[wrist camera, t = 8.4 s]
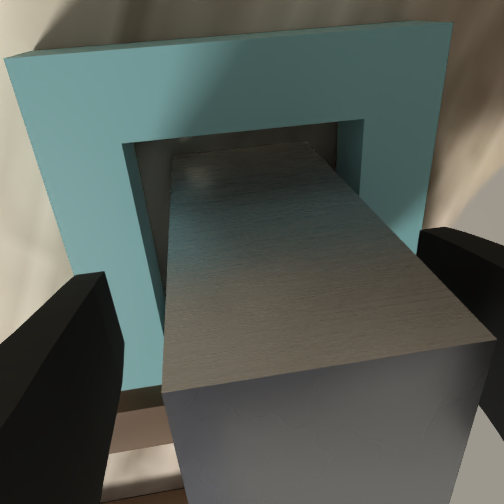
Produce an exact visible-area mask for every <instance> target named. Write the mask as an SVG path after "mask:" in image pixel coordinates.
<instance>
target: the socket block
mask: <svg viewBox="0 0 504 504" xmlns="http://www.w3.org/2000/svg"><path fill="white" fill-rule="evenodd" d="M161 391H162V385H156V386H150V387H143V388H137V389H130V390H124V391H121V394H120V399H119V404H118V410H117V415H116V420H115V425H114V430H113V435H112V440H111V445H110V450H109V454H112V453H118V452H123V451H129V450H135V449H141V448H147V447H153V446H158V445H164V444H170V443H173V439H172V434H171V430H170V426H169V422H168V418H167V414H166V410H165V406H164V402H163V398H162V394H161ZM101 504H188V500H187V496H186V491H185V488H183V489H177V490H172V491H167V492H161V493H156V494H150V495H145V496H139V497H134V498H128V499H123V500H117V501H112V502H106V503H101Z"/></svg>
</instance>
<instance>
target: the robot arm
mask: <svg viewBox="0 0 504 504" xmlns="http://www.w3.org/2000/svg"><path fill="white" fill-rule="evenodd" d="M416 256H417V257H418V258H419V259H420V260H421V261H422V262H423V263H424V264H425V265H426V266H427V267H428V268H429V269H430V270H431V271H432V272H433V273H434V274H435V275H436V276H437V278H438V279H439V280H440V281H441V282H442V283H443V284H444V285H445V286H446V287H447V288H448V289H449V290H450V291H451V292H452V293H453V294H454V295H455V296H456V297H457V298H458V299H459V300H460V301H461V302H462V303H463V304H464V305H465V307H466V308H467V309H468V310H469V311H470V312H471V313H472V314H473V315H474V316H475V317H476V318H477V319H478V320H479V321H480V322H481V323H482V324H483V325H484V326H485V327H486V328H487V329H488V330H489V331H490V332H491V333H492V334H493V336H494V337H495V338H496V339H497V343H496V346H495V350H494V353H493V357H492V360H491V363H490V367H489V370H488V373H487V377H486V380H485V384H484V387H483V390H482V394H481V397H480V401H479V404H478V405H479V406H480V407H481V409H482V410H483V411H484V412H485V414H486V415H487V417H488V418H489V420H490V421H491V423H492V424H493V425H494V427H495V428H496V430H497V431H498V433H499V434H500V436H501V437H502V439H503V441H504V246H503V245H500V244H497V243H495V242H492V241H489V240H486V239H483V238H480V237H478V236H475V235H472V234H469V233H466V232H462V231H459V230H455V229H452V228H447V227H440V228H432V229H424V230H420V232H419V238H418V245H417V252H416ZM124 349H125V342H124V338H123V335H122V331H121V328H120V324H119V320H118V317H117V313H116V310H115V306H114V303H113V299H112V296H111V292H110V288H109V285H108V281H107V278H106V274H105V271H101V272H93V273H86V274H78V275H75V276H74V277H73V278H71V279H70V280H69V281H68V282H67V283H66V284H65V285H63V286H62V287H61V288H60V289H59V290H58V291H57V292H56V293H55V294H54V295H53V296H52V297H51V298H50V299H49V300H48V301H47V302H46V303H45V304H44V305H43V306H41V307H40V308H39V309H38V310H37V311H36V312H35V313H34V314H33V315H32V316H31V317H30V318H29V319H28V320H27V321H26V322H24V323H23V324H22V325H21V326H20V327H19V328H18V329H17V330H16V331H15V332H14V333H13V334H11V335H10V336H9V337H8V338H7V339H6V340H5V341H3V342H2V343H1V344H0V504H100V500H101V493H102V487H103V481H104V476H105V471H106V466H107V460H108V455H109V450H110V445H111V440H112V435H113V430H114V425H115V420H116V415H117V410H118V404H119V399H120V394H121V388H122V382H123V368H124Z"/></svg>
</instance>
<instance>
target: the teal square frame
mask: <svg viewBox="0 0 504 504" xmlns="http://www.w3.org/2000/svg"><path fill="white" fill-rule="evenodd" d="M452 29H453V22H433V21H401V22H388V23H376V24H363V25H351V26H338V27H325V28H313V29H300V30H288V31H275V32H262V33H250V34H237V35H224V36H212V37H199V38H187V39H174V40H161V41H149V42H136V43H123V44H111V45H98V46H86V47H73V48H60V49H48V50H35V51H29V52H26V53H22V54H18V55H15V56H11V57H8V58H4V62H5V65H6V68H7V71H8V74H9V77H10V80H11V83H12V86H13V89H14V92H15V96H16V99H17V102H18V105H19V108H20V111H21V114H22V117H23V120H24V123H25V126H26V129H27V132H28V135H29V139H30V142H31V145H32V148H33V151H34V154H35V157H36V160H37V163H38V166H39V169H40V172H41V175H42V178H43V182H44V185H45V188H46V191H47V194H48V197H49V200H50V203H51V206H52V209H53V212H54V215H55V218H56V221H57V225H58V228H59V231H60V234H61V237H62V240H63V243H64V246H65V249H66V252H67V255H68V258H69V261H70V264H71V268H72V271H73V274H74V276H75V275H78V274H86V273H93V272H101V271H105V274H106V278H107V281H108V285H109V288H110V292H111V296H112V299H113V303H114V306H115V310H116V313H117V317H118V320H119V324H120V328H121V331H122V335H123V338H124V342H125V349H124V368H123V382H122V388H121V391H124V390H130V389H137V388H143V387H150V386H156V385H162V369H163V348H164V326H165V304H166V299H165V295H164V290H163V285H162V280H161V275H160V270H159V265H158V260H157V255H156V251H155V246H154V241H153V236H152V231H151V226H150V221H149V216H148V211H147V206H146V201H145V197H144V192H143V187H142V182H141V177H140V172H139V167H138V162H137V157H136V152H135V147H134V143H133V142H141V141H151V140H161V139H171V138H181V137H190V136H200V135H210V134H220V133H230V132H240V131H249V130H259V129H269V128H279V127H289V126H299V125H308V124H318V123H328V122H338V137H337V163H336V173H337V174H338V175H339V176H340V177H341V178H342V179H343V180H344V181H345V182H346V183H347V184H348V185H349V186H350V187H351V188H352V189H353V191H354V192H355V193H356V194H357V195H358V196H359V197H360V198H361V199H362V200H363V201H364V202H365V203H366V204H367V205H368V206H369V207H370V208H371V209H372V210H373V211H374V212H375V213H376V214H377V215H378V216H379V217H380V218H381V220H382V221H383V222H384V223H385V224H386V225H387V226H388V227H389V228H390V229H391V230H392V231H393V232H394V233H395V234H396V235H397V236H398V237H399V238H400V239H401V240H402V241H403V242H404V243H405V244H406V245H407V246H408V247H409V249H410V250H411V251H412V252H413V253H414V254H415V255H416V252H417V245H418V238H419V232H420V230H422V223H423V217H424V210H425V204H426V197H427V191H428V184H429V178H430V171H431V165H432V158H433V152H434V145H435V139H436V132H437V126H438V119H439V113H440V106H441V100H442V94H443V87H444V81H445V74H446V68H447V61H448V55H449V48H450V42H451V35H452Z"/></svg>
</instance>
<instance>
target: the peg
mask: <svg viewBox="0 0 504 504" xmlns="http://www.w3.org/2000/svg"><path fill="white" fill-rule="evenodd" d="M496 343H497V339H496V338H495V337H494V336H493V334H492V333H491V332H490V331H489V330H488V329H487V328H486V327H485V326H484V325H483V324H482V323H481V322H480V321H479V320H478V319H477V318H476V317H475V316H474V315H473V314H472V313H471V312H470V311H469V310H468V309H467V308H466V307H465V305H464V304H463V303H462V302H461V301H460V300H459V299H458V298H457V297H456V296H455V295H454V294H453V293H452V292H451V291H450V290H449V289H448V288H447V287H446V286H445V285H444V284H443V283H442V282H441V281H440V280H439V279H438V278H437V276H436V275H435V274H434V273H433V272H432V271H431V270H430V269H429V268H428V267H427V266H426V265H425V264H424V263H423V262H422V261H421V260H420V259H419V258H418V257H417V256H416V255H415V254H414V253H413V252H412V251H411V250H410V249H409V247H408V246H407V245H406V244H405V243H404V242H403V241H402V240H401V239H400V238H399V237H398V236H397V235H396V234H395V233H394V232H393V231H392V230H391V229H390V228H389V227H388V226H387V225H386V224H385V223H384V222H383V221H382V220H381V218H380V217H379V216H378V215H377V214H376V213H375V212H374V211H373V210H372V209H371V208H370V207H369V206H368V205H367V204H366V203H365V202H364V201H363V200H362V199H361V198H360V197H359V196H358V195H357V194H356V193H355V192H354V191H353V189H352V188H351V187H350V186H349V185H348V184H347V183H346V182H345V181H344V180H343V179H342V178H341V177H340V176H339V175H338V174H337V173H336V172H335V171H334V170H333V169H332V168H331V167H330V166H329V165H328V164H327V163H326V162H325V160H324V159H323V158H322V157H321V156H320V155H319V154H318V153H317V152H316V151H315V150H314V149H313V148H312V147H311V146H310V145H309V144H308V143H307V142H306V141H301V142H291V143H282V144H273V145H263V146H254V147H245V148H235V149H226V150H217V151H207V152H198V153H189V154H179V155H172V175H171V196H170V218H169V240H168V261H167V283H166V304H165V326H164V348H163V369H162V391H161V394H162V398H163V402H164V406H165V410H166V414H167V418H168V422H169V426H170V430H171V434H172V439H173V443H174V447H175V451H176V455H177V459H178V463H179V467H180V471H181V475H182V479H183V483H184V487H185V491H186V496H187V500H188V504H449V502H450V498H451V495H452V492H453V488H454V485H455V482H456V478H457V475H458V472H459V468H460V465H461V461H462V458H463V454H464V451H465V448H466V445H467V441H468V438H469V434H470V431H471V428H472V424H473V421H474V417H475V414H476V411H477V407H478V404H479V401H480V397H481V394H482V390H483V387H484V384H485V380H486V377H487V373H488V370H489V367H490V363H491V360H492V357H493V353H494V350H495V346H496Z"/></svg>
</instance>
